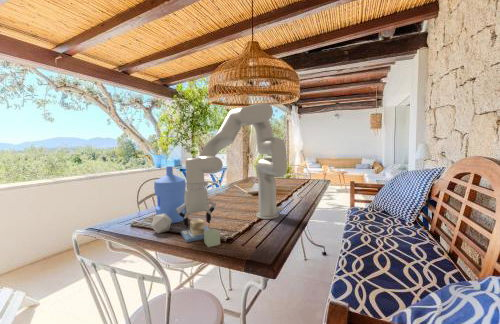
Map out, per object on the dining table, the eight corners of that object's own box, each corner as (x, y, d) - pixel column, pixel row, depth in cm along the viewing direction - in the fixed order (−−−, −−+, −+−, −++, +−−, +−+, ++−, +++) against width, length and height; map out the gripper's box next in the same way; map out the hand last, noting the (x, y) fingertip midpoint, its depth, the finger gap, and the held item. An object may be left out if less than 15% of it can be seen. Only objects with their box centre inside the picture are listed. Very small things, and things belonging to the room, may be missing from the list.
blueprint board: (206, 228, 115) (206, 226, 115) (214, 236, 106) (214, 233, 106) (180, 233, 110) (180, 230, 110) (186, 242, 100) (186, 239, 100)
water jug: (191, 215, 136) (189, 165, 134) (180, 225, 121) (178, 168, 118) (164, 214, 138) (161, 165, 135) (150, 224, 122) (147, 168, 120)
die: (168, 227, 119) (154, 213, 117) (178, 221, 115) (165, 206, 113) (157, 239, 112) (143, 224, 110) (168, 233, 108) (154, 218, 106)
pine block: (201, 229, 111) (200, 218, 111) (204, 233, 107) (204, 222, 106) (190, 231, 109) (189, 220, 108) (193, 235, 104) (192, 224, 104)
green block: (215, 240, 102) (215, 228, 102) (220, 244, 98) (219, 232, 98) (204, 242, 100) (203, 230, 100) (208, 247, 96) (207, 235, 95)
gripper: (212, 182, 113) (213, 218, 115) (173, 187, 105) (175, 225, 107) (217, 185, 107) (219, 223, 108) (177, 190, 99) (179, 231, 100)
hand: (197, 224), depth 108 cm, fingers open, 9 cm apart
